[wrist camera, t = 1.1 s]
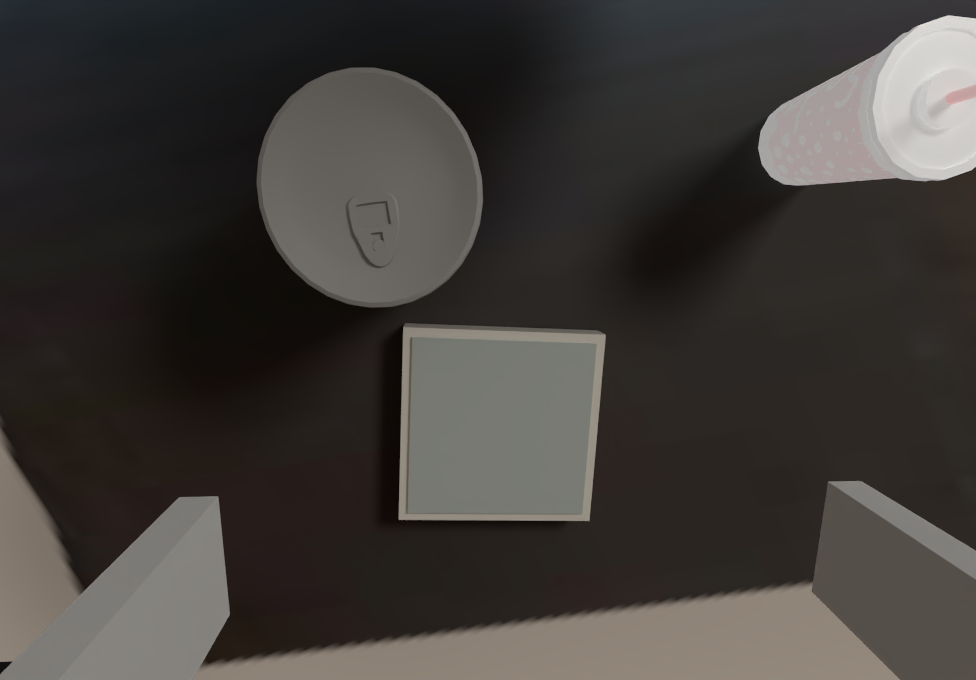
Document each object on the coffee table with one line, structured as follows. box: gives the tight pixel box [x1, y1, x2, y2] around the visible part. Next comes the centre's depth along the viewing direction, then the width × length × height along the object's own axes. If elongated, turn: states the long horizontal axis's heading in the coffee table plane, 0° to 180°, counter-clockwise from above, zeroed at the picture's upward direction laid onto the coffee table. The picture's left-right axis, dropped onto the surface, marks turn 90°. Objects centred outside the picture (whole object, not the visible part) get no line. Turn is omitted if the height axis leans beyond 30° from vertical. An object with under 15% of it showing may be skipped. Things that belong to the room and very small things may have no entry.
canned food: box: [257, 68, 483, 308], centre depth 23 cm, size 8×8×11 cm
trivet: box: [399, 323, 606, 521], centre depth 30 cm, size 11×11×2 cm
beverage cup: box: [758, 16, 976, 186], centre depth 23 cm, size 6×6×14 cm
